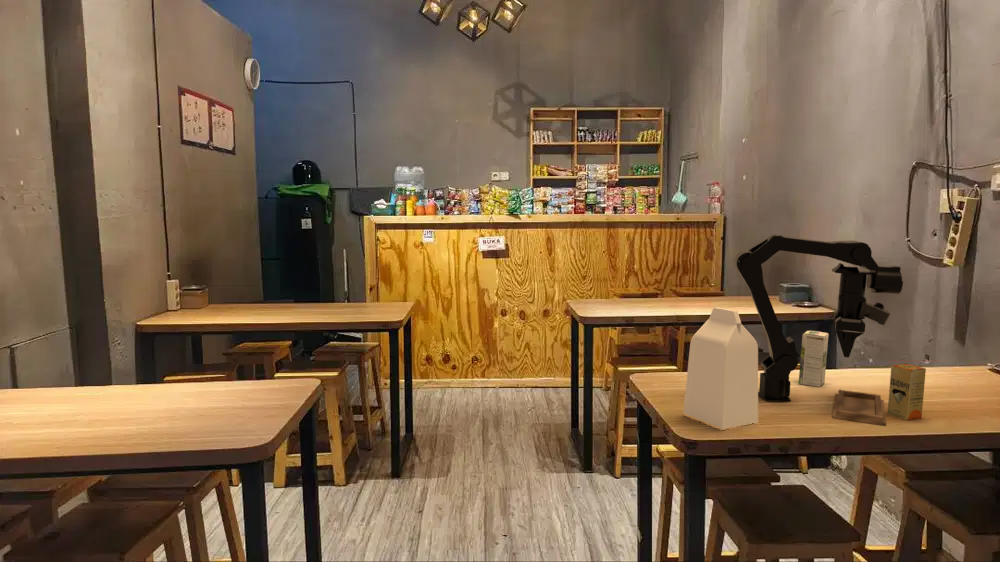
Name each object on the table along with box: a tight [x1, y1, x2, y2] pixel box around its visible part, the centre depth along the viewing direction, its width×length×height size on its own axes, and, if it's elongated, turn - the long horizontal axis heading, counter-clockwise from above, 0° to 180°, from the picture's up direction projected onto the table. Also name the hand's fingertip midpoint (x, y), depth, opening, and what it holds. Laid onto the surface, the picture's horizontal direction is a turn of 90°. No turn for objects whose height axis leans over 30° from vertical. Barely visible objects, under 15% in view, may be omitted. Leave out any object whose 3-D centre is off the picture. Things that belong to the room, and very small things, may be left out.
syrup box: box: [798, 330, 830, 388], centre depth 183 cm, size 6×6×14 cm
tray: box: [831, 389, 887, 426], centre depth 161 cm, size 11×20×2 cm, turn 151°
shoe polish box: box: [887, 363, 927, 421], centre depth 156 cm, size 5×5×12 cm
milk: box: [682, 306, 759, 429], centre depth 152 cm, size 12×12×26 cm
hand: (845, 353), depth 165 cm, fingers open, 9 cm apart
